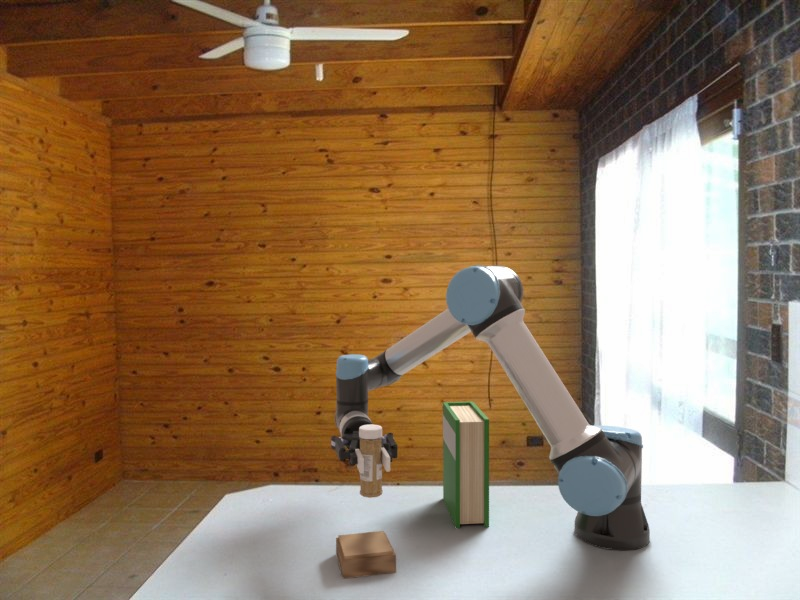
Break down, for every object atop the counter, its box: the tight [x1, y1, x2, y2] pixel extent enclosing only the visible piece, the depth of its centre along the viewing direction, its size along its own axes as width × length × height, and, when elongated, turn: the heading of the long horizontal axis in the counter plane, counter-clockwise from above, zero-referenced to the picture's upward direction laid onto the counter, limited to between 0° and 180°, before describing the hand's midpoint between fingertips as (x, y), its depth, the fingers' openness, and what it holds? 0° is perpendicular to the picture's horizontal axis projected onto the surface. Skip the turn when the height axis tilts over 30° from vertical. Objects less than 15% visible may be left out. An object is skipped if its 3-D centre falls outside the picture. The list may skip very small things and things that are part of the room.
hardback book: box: [442, 401, 490, 529], centre depth 147 cm, size 18×7×24 cm, turn 5°
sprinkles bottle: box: [359, 423, 383, 499], centre depth 124 cm, size 5×5×13 cm
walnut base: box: [335, 530, 397, 580], centre depth 123 cm, size 10×10×4 cm
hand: (375, 465), depth 119 cm, fingers closed on sprinkles bottle, 4 cm apart
